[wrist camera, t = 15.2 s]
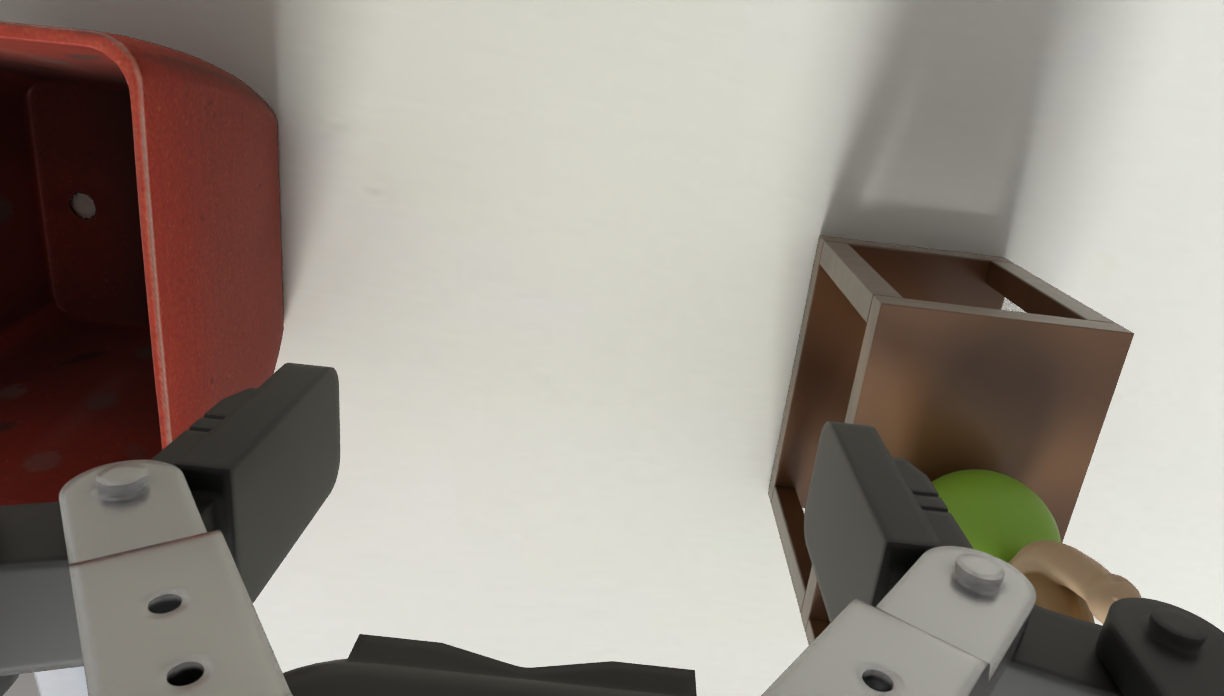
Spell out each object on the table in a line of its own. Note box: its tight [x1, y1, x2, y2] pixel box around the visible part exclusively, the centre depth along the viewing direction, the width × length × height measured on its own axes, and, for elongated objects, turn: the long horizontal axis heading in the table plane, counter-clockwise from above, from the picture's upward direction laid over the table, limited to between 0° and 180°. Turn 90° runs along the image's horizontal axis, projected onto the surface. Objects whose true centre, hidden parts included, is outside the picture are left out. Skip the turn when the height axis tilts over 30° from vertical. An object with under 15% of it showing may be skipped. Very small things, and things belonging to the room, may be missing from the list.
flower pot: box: [0, 22, 284, 506], centre depth 35 cm, size 19×19×17 cm
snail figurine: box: [931, 469, 1141, 624], centre depth 28 cm, size 5×6×12 cm
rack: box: [768, 236, 1134, 645], centre depth 38 cm, size 15×10×14 cm, turn 174°
